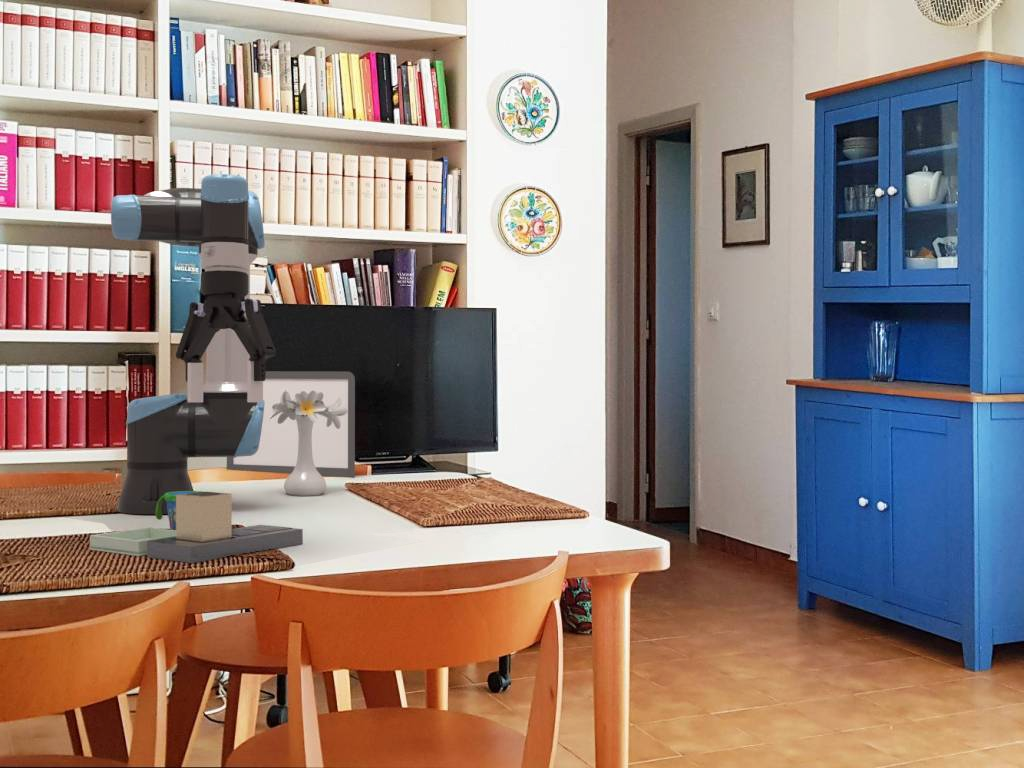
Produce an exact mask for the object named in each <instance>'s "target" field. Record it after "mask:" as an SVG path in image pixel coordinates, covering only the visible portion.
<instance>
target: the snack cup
mask: <svg viewBox="0 0 1024 768" xmlns="http://www.w3.org/2000/svg"><path fill="white" fill-rule="evenodd" d="M197 492H203V491H199V490H198V491H197V490H193V491H176V492H168V493H165V495H163V496H162V497H161V498H160V499H159V500H158V503H157V506H156V514H155V517H156V519H157V520H158V521H161V520H162V519H163V514H162V511H161V505H162V502H163V499H165V500H166V502H167V507H168V514H167V516H168V522H169V530H176V495H179V494H188V493H197Z"/></svg>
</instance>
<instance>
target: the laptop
mask: <svg viewBox="0 0 1024 768" xmlns="http://www.w3.org/2000/svg"><path fill="white" fill-rule="evenodd" d="M265 372H266V378H265V381H263V400H264V402H265V405H264V414H263V423H262V430H261V437H260V443H259V448H258V451H257V452H256V453H255V454H254V455H252V456H241V457H236V458H233V457H226V470H228V471H229V470H231V471H242V472H243V471H245V472H258V473H274V474H287V475H290V474H291V473H292V472H293V470H294V468H295V466H296V463H297V458H298V426H297V421H296V419H295V420H291V419H290V418H289V417H288V418H287V419H286V420H285V421H284V422H283V423H281V424H278V418H279V416H280V415H281V414H282V413H283V412H281V413H279V414H277V415H276V416H274V417H273V418H271V417H272V415H273V414H274V413H275V412H274V413H273V408H272V406H273V405H274V404H276V403H280V400H281V396H282V394H283V392H285V390H286V391H287V392H288V393H289V395H290V398H291V401H293V400H294V399H295V394H297V393H298V394H301V392H302V391H305V392H307V393H308V394H309V393H310V392H311V391H313V390H314V391H316V394H317V393H319V392H322V393H323V399H322V401H323V402H324V405H325V406H326V407H327V408H328V406H329V405H333V404H334V403H335V402H336V401H337V399H338V398H339V397H341V398H342V401H341V404H340V406H339V407H337V408H340V407H345V408H347V409H348V411H347V413H346V414H345V415H343V416H337V417H338V418H339V419H340V428H339V429H337V428H336V427H335V425H334V423H333V422H332V423H331V425H330V426H329V427H327V425H326V424H327V418H326V417H325V416H322V415H319V414H317V413H316V415H317V421H316V422H313V428H312V455H313V462H314V465H315V467H316V469H317V471H318V472H319V474H320V475H321V476H322V477H335V478H351V479H353V478H354V479H355V476H356V473H355V472H356V471H355V470H356V469H355V468H356V461H355V460H356V453H355V452H356V438H355V437H356V379H355V378H356V377H355V375H354V374H353V373H352V372H351V371H332V370H331V371H326V370H325V371H320V370H319V371H318V370H317V371H316V370H315V371H314V370H312V371H310V370H309V371H292V370H291V371H286V370H285V371H284V370H283V371H279V370H278V371H276V370H275V371H274V370H273V371H271V370H270V371H268V370H266V371H265ZM327 413H328V412H327ZM304 415H306V414H304ZM270 418H271V419H270ZM269 419H270V420H269ZM331 421H332V420H331Z"/></svg>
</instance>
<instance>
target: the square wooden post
mask: <svg viewBox="0 0 1024 768" xmlns="http://www.w3.org/2000/svg"><path fill="white" fill-rule="evenodd" d="M232 496H233V495H232V493H227V492H226V493H225V492H214V491H202V492H197V493H188V494H179V495H176V540H179V541H187V542H195V543H207V542H213V541H220V540H226V539H232V529H233V528H232V526H233V525H232V520H233V517H232V515H233V514H232V509H233V507H232V505H233V504H232V500H233V499H232Z"/></svg>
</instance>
